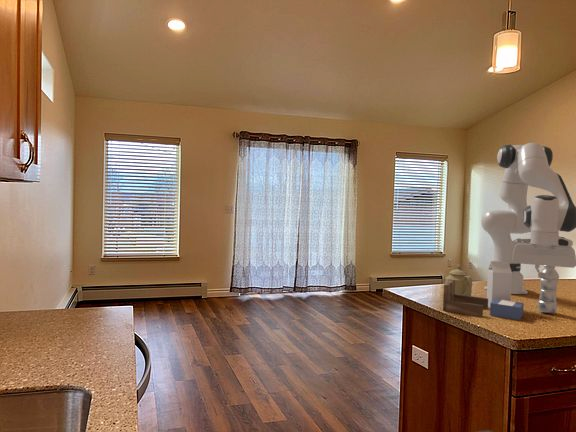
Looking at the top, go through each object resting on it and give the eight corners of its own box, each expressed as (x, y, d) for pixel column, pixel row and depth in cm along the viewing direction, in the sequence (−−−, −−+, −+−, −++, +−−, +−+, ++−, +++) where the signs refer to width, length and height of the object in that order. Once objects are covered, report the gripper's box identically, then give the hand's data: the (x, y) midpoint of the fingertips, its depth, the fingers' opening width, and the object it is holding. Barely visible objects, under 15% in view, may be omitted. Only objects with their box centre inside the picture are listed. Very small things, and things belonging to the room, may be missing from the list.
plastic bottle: (538, 309, 177) (541, 260, 176) (558, 313, 173) (561, 262, 172) (535, 312, 172) (538, 262, 171) (555, 316, 168) (558, 264, 167)
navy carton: (494, 311, 174) (495, 298, 174) (523, 316, 168) (523, 302, 168) (489, 316, 167) (490, 302, 167) (519, 321, 161) (520, 307, 161)
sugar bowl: (484, 299, 193) (485, 265, 193) (468, 302, 187) (470, 267, 187) (455, 293, 206) (456, 261, 205) (439, 295, 200) (441, 262, 199)
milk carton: (510, 310, 175) (512, 263, 174) (491, 309, 176) (493, 262, 175) (504, 306, 182) (506, 260, 181) (486, 305, 183) (488, 259, 182)
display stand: (451, 303, 185) (452, 279, 185) (487, 308, 178) (488, 283, 178) (442, 310, 172) (443, 285, 172) (482, 316, 165) (483, 289, 164)
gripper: (511, 238, 163) (510, 275, 164) (577, 242, 153) (575, 281, 153) (512, 237, 169) (511, 273, 169) (576, 241, 158) (575, 279, 158)
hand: (542, 277), depth 161 cm, fingers closed
